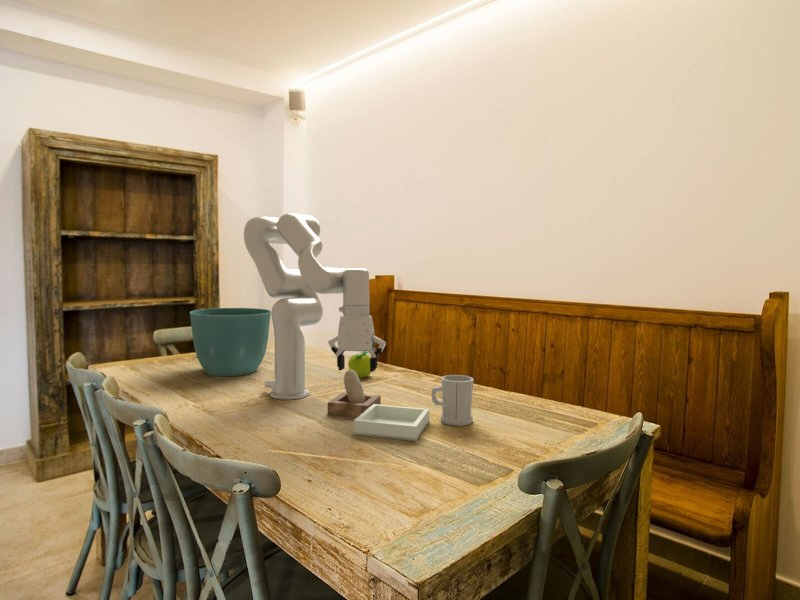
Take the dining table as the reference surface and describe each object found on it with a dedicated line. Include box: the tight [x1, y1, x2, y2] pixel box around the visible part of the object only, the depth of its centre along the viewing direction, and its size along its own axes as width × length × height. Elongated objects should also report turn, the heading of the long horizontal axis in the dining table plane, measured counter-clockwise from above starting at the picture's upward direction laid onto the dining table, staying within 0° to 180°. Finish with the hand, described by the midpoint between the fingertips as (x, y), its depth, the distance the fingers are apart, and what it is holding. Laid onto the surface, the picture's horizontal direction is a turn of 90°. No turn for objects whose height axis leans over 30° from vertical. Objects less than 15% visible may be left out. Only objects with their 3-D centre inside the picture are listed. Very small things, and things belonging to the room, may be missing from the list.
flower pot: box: [189, 307, 272, 377], centre depth 196 cm, size 30×30×24 cm
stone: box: [343, 369, 365, 403], centre depth 146 cm, size 6×6×12 cm
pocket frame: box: [327, 391, 382, 418], centre depth 146 cm, size 12×12×4 cm
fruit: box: [347, 351, 372, 379], centre depth 190 cm, size 9×9×10 cm
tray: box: [353, 404, 430, 442], centre depth 131 cm, size 16×16×4 cm
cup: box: [431, 374, 475, 427], centre depth 137 cm, size 10×9×12 cm
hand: (357, 370), depth 145 cm, fingers open, 9 cm apart
